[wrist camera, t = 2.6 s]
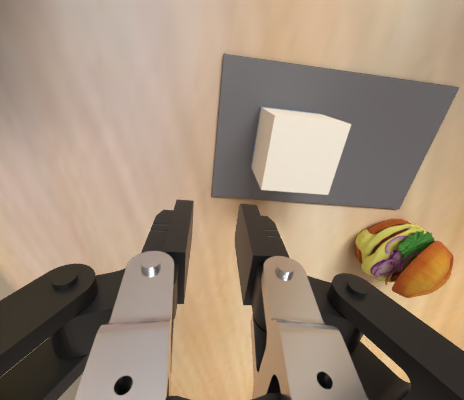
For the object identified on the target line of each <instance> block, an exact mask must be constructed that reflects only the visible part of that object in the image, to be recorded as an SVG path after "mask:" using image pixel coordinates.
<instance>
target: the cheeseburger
mask: <svg viewBox="0 0 464 400" xmlns="http://www.w3.org/2000/svg"><path fill="white" fill-rule="evenodd" d="M355 244H356V256H357V258H358V260H359V261H360V263H361V264H362V265H361V268H362V270H363V272H364V273H366V274H368V275H370V276H372V277H374V278H376V279H378V280H381V281H385V284H386V285H387V282H395V281H396V282H395V283H394V285H393V287H392V291H394V292H395V293H397V294H399V295H401V296H403V297H406V298H411V297H416V296H421V295H426V294H430V293H432V292H434V291H436V290H438V289H439V288H440V287H441V286H443V285H444V284H445V283H446V282H447V280H448V279H449V277H450V275H451V270H452V266H453V255H452V253H451V252H450V251H449V250H448V249H447V248H446V247H445V246H444V245H443V244H442V243H441V242H439V241H434V238H433V237H432V234H431V233H429V232H426V231H425V229H423V228H421V227H420V226H418V225H416V224H414V225H412V224H410V223H409V222H407V221H404V220H402V219H391V220H387V221H384V222H380V223H378V224H377V225H375V226H373V227H371V228H369V229H368V230H367V229H365V230H363V231H361V232H360V233H359V234H358V235H357V237H356V240H355Z"/></svg>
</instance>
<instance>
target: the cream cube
mask: <svg viewBox="0 0 464 400" xmlns="http://www.w3.org/2000/svg"><path fill="white" fill-rule="evenodd" d="M350 127H351V124H349V123H346V122H343V121H340V120H337V119H334V118H331V117H328V116H326V115H323V114H319V113H311V112H302V111H294V110H285V109H277V108H268V107H260V111H259V117H258V124H257V130H256V136H255V143H254V149H253V155H252V162H251V168H252V170H253V173H254V175H255V177H256V179H257V182H258V184H259V186H260V189H261V190H269V191H282V192H295V193H309V194H322V195H328V194H329V191H330V188H331V185H332V182H333V179H334V176H335V173H336V170H337V167H338V164H339V161H340V158H341V154H342V151H343V148H344V145H345V142H346V139H347V136H348V133H349V130H350Z"/></svg>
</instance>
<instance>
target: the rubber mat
mask: <svg viewBox="0 0 464 400" xmlns="http://www.w3.org/2000/svg"><path fill="white" fill-rule="evenodd" d="M458 89H459V87H454V86H447V85H440V84H433V83H425V82H418V81H411V80H404V79H397V78H390V77H383V76H376V75H369V74H362V73H355V72H348V71H341V70H334V69H327V68H320V67H313V66H306V65H299V64H292V63H285V62H278V61H271V60H264V59H257V58H250V57H243V56H236V55H229V54H224V58H223V70H222V82H221V93H220V105H219V117H218V128H217V140H216V152H215V163H214V175H213V186H212V196H217V197H231V198H245V199H260V200H274V201H288V202H303V203H317V204H331V205H346V206H360V207H374V208H389V209H400V207H401V205H402V203H403V200H404V198H405V196H406V194H407V192H408V190H409V188H410V186H411V184H412V182H413V180H414V178H415V176H416V174H417V172H418V170H419V168H420V166H421V164H422V162H423V160H424V158H425V156H426V154H427V152H428V150H429V148H430V146H431V144H432V142H433V140H434V138H435V136H436V134H437V132H438V130H439V127H440V125H441V123H442V121H443V119H444V117H445V115H446V113H447V111H448V109H449V107H450V105H451V103H452V101H453V99H454V97H455V95H456V93H457V91H458ZM260 107H268V108H277V109H285V110H294V111H302V112H311V113H319V114H323V115H326V116H328V117H331V118H334V119H337V120H340V121H343V122H346V123H349V124H351V127H350V130H349V133H348V136H347V139H346V142H345V145H344V148H343V151H342V154H341V158H340V161H339V164H338V167H337V170H336V173H335V176H334V179H333V182H332V185H331V188H330V191H329V194H328V195H322V194H309V193H295V192H282V191H269V190H261V189H260V186H259V184H258V182H257V179H256V177H255V175H254V173H253V170H252V168H251V162H252V155H253V149H254V143H255V136H256V130H257V124H258V117H259V111H260Z"/></svg>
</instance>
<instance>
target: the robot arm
mask: <svg viewBox="0 0 464 400" xmlns="http://www.w3.org/2000/svg"><path fill="white" fill-rule="evenodd" d="M193 203H194V201H190V200H177V201H176V204H175V208H174V210H163V211H162V212H160V213H159V214H158V215H157V216H156V217H155V220H154V222H153V225H152V227H151V231H150V232H149V235H148V237H147V240H146V242H145V245H144V247H143V250H142V252H141V253H140V254H138V255H136V256H135V257H133V258H132V259H131V260H130V261H129V262H128V264H127V266H126V268H125V269H123V270H120V271H116V272H112V273H107V274H102V275H97V276H95V272H94V270H93V269H92V268H91V267H89V266H87V265H84V264H69V265H64V266H61V267H58V268H56V269H53V270H51V271H49V272H48V273H46V274H44V275H43V276H41V277H39V278H38V279H36V280H34V281H32V282H31V283H29V284H27V285H26V286H24V287H22V288H21V289H19V290H17V291H16V292H14V293H12V294H11V295H9V296H7V297H6V298H4V299H2V300H1V301H0V377H1V376H2V375H3V374H5V373H6V372H7V371H8V370H9V369H11V368H12V367H13V366H14V365H15V364H17V363H18V362H19V361H20V360H22V359H23V358H24V357H25V356H26V357H25V358H24V359H23V360H22V361H20V362H19V363H18V364H17V365H15V366H14V367H13V368H12V369H11V370H9V371H8V372H7V373H6V374H5V375H3V376H2V377H1V378H0V400H57V399H58V398H59V397H60V396H61V395H62V394H63V393H64V392H65V391H66V390H67V389H68V388H69V387H70V386H71V385H72V383H74V381H75V380H76V379H77V378H78V377H79V376H80V375H81V374H82V373H83V375H82V378H81V381H80V384H79V388H78V390H77V393H76V396H75V399H74V400H189V399H186V398H182V397H179V396H171V373H172V351H173V328H174V318H175V315H176V309H177V304H184V298H185V290H186V282H187V274H188V266H189V257H190V249H191V240H192V225H193ZM235 249H236V256H237V263H238V271H239V278H240V285H241V292H242V299H243V305H252V311H253V314H252V318H251V338H252V356H253V375H254V383H253V395H252V400H464V351H463V350H461V349H460V348H459V347H457V346H456V345H454V344H453V343H452V342H450V341H449V340H447V339H446V338H445V337H443V336H442V335H441V334H439V333H438V332H436V331H435V330H434V329H432V328H431V327H429V326H428V325H427V324H425V323H424V322H423V321H421V320H420V319H418V318H417V317H416V316H414V315H413V314H411V313H410V312H409V311H407V310H406V309H405V308H403V307H402V306H400V305H399V304H398V303H396V302H395V301H393V300H392V299H391V298H389V297H388V296H387V295H385V294H384V293H382V292H381V291H380V290H378V289H377V288H375V287H374V286H373V285H371V284H370V283H369V282H367V281H366V280H364V279H362V278H360V277H358V276H355V275H352V274H346V273H345V274H338V275H336V276H335V277H334V278H333V281H332V283H330V282H326V281H322V280H319V279H315V278H312V277H309V276H307V275H306V272H305V270H304V268H303V267H302V266H301V265H300V264H299V263H298V262H296V261H295V260H293V259H290V258H289V255H288V253H287V251H286V248H285V246H284V244H283V241H282V239H281V238H280V235H279V232H278V230H277V228H276V225H275V223H274V222H273V221H272V220H271V219H270V218H269V217H267V216H260V213H259V210H258V207H257V205H249V204H240V206H239V212H238V218H237V225H236V232H235ZM363 334H364V335H365V336H366V337H367V338H368V339H369V340H371V341H372V342H373V343H374V344H375V345H376V346H377V347H378V348H379V349H381V350H382V351H383V352H384V353H385V354H386V355H387V356H388V357H389V358H391V359H392V360H393V361H394V362H395V363H396V364H397V365H398V366H399V367H401V368H402V369H403V370H404V372H405V373H406V374H407V376H408V377H409V379H410V382H411V383H408V382H405V381H403V380H402V379H400V378H399V377H398V376H397V375H396V374H395V373H393V372H392V371H391V370H390V369H389V368H388V367H387V366H386V365H385V364H384V363H383V362H382V361H381V360H380V359H378V358H377V357H376V356H375V355H374V354H373V353H372V352H371V351H370V350H369V349H368V348H367V347H366V346H365V345H364V344H362V343H361V342H360V339H361V338H362V336H363ZM47 338H48V339H47ZM46 339H47V340H46ZM45 340H46V341H45ZM44 341H45V342H44ZM43 342H44V343H43ZM41 343H42V344H41ZM40 344H41V345H40ZM39 345H40V346H39ZM38 346H39V347H38ZM36 347H37V348H36ZM35 348H36V349H35ZM34 349H35V350H34ZM33 350H34V351H33ZM32 351H33V352H32ZM30 352H31V353H30ZM29 353H30V354H29ZM28 354H29V355H28ZM27 355H28V356H27Z"/></svg>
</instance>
